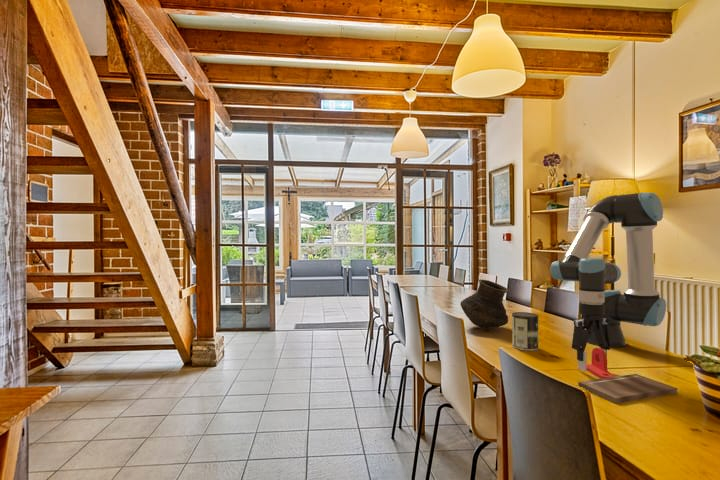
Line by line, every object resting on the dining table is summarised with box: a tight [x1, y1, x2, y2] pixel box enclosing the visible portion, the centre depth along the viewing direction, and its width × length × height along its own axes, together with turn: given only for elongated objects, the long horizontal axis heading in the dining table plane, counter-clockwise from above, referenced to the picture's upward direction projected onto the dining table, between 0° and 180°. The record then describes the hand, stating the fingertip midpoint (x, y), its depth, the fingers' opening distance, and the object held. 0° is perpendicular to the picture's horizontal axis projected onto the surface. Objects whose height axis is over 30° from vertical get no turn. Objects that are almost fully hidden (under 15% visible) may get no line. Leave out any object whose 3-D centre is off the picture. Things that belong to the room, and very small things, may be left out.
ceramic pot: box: [460, 279, 509, 329], centre depth 186 cm, size 24×24×22 cm
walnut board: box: [577, 373, 678, 404], centre depth 109 cm, size 24×12×2 cm, turn 106°
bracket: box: [586, 347, 617, 379], centre depth 122 cm, size 12×4×8 cm, turn 178°
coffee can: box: [511, 311, 539, 352], centre depth 153 cm, size 10×10×14 cm
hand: (592, 368), depth 124 cm, fingers open, 8 cm apart
